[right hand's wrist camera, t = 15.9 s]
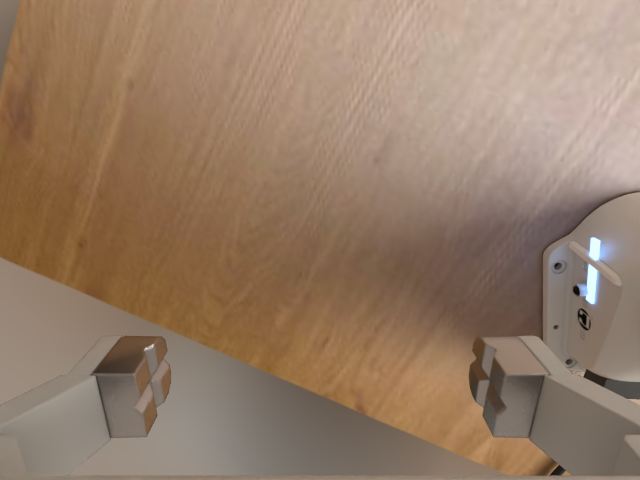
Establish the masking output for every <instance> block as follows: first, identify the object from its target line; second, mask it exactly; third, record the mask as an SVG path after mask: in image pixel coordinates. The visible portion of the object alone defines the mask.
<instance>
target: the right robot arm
mask: <svg viewBox="0 0 640 480" xmlns="http://www.w3.org/2000/svg"><path fill="white" fill-rule="evenodd" d="M556 263H558V265H557V266H556V267H554V265H555V264H556ZM472 351H473V352H474V354H475V356H476V360H475V361H474V362H473V363H472V364H471V365H470V370H469V383H470V389H471V392H472V395H473V397H474V399H475V402H476V403H478V404H479V405H481V406H482V407H483V408H484V410H483V417H484V419H485V421H486V423H487V425H488V427H489V429H490V431H491V433H492V435H493V437H508V438H530V439H529V440H530V441H531V442H533V443H534V444H535V445H536V446H537V447H539V448H540V449H541V450H542V451H543V452H545V453H546V454H547V455H548V456H549V457H551V458H552V459H553V460H554V461H555V462H557V463H558V464H559V466H558V467H557V468H556V469H555V470H554V471H553V472H552V473H551V475H550V476H68V475H69V474H70V473H72V472H73V471H74V470H75V469H76V468H78V467H79V466H80V465H81V464H82V463H84V462H85V461H86V460H87V459H88V458H90V457H91V456H92V455H93V454H94V453H95V452H97V451H98V450H99V449H100V448H102V447H103V446H104V445H105V444H106V443H108V442H109V441H110V440H111V439H110V438H132V437H147V435H148V433H149V431H150V429H151V427H152V425H153V423H154V421H155V419H156V417H157V410H156V408H157V407H158V406H159V405H161V404H162V403H164V401H165V399H166V397H167V395H168V393H169V388H170V384H171V370H170V365H169V364H168V363H167V362H166V361H165V360H164V356H165V354H166V352H167V345H166V340H165V339H164V338H163V337H156V336H104V337H101V338H100V339H99V340H98V341H97V343H96V344H95V345H94V346H93V347H92V348H91V349H90V350H89V351H88V352H87V354H86V355H85V356H84V357H83V358H82V359H81V360H80V361H79V362H78V364H77V365H76V366H75V367H74V368H73V369H72V370H71V371H70V372H69V373H68V375H61V376H58V377H56V378H54V379H52V380H50V381H48V382H46V383H44V384H42V385H40V386H38V387H36V388H34V389H32V390H30V391H28V392H26V393H24V394H22V395H20V396H18V397H16V398H14V399H12V400H10V401H8V402H6V403H4V404H2V405H0V480H640V405H638V404H636V403H634V402H632V401H630V400H628V399H640V192H636V193H631V194H627V195H624V196H621V197H618V198H615V199H613V200H611V201H609V202H607V203H605V204H604V205H602V206H600V207H599V208H597V209H596V210H595V211H593V212H592V213H591V214H590V215H588V216H587V217H586V218H585V219H584V220H583V221H582V222H581V223H580V224H579V225H578V226H577V228H576V229H575V230H573V231H572V232H571V233H570V234H569V235H567V236H565V237H563V238H561V239H560V240H558V241H556V242H554V243H553V244H551V245H550V246H548V247H547V248H546V250H545V251H544V253H543V341H542V340H541V339H540V338H539V337H537V336H514V337H476V339H475V341H474V345H473V350H472ZM566 360H567V361H566ZM569 370H573V371H579V372H585V374H584V377H582V376H580V375H572V373H571V372H570V371H569ZM565 471H567V472H568V473H570V474H571V475H572V476H561V475H562V474H563V473H564V472H565Z"/></svg>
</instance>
